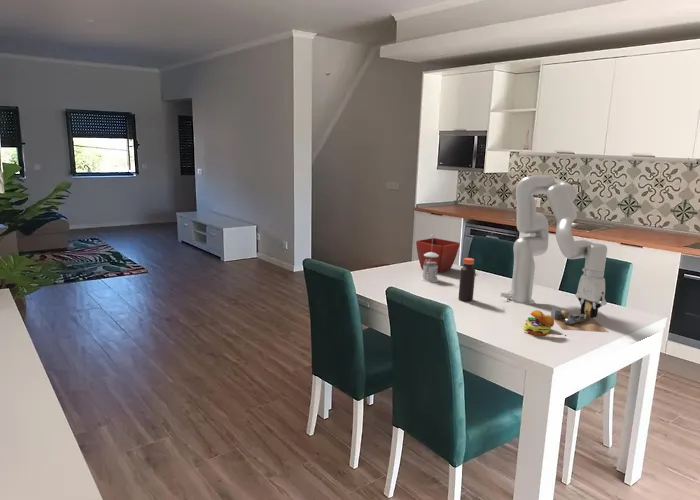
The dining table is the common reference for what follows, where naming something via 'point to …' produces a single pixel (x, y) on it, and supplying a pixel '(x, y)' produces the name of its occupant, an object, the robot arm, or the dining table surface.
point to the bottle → (467, 280)
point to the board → (582, 325)
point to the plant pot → (438, 252)
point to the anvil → (556, 313)
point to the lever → (575, 318)
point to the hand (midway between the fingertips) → (588, 315)
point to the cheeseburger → (538, 324)
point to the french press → (430, 267)
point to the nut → (564, 314)
